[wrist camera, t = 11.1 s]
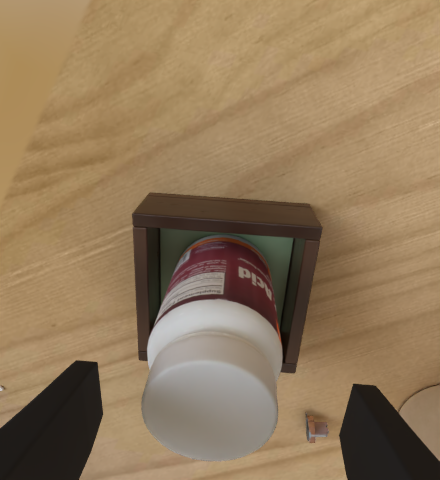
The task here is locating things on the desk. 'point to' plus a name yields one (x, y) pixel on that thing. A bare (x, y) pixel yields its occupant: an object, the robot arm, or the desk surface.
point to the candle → (425, 417)
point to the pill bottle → (215, 354)
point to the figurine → (315, 429)
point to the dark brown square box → (227, 223)
